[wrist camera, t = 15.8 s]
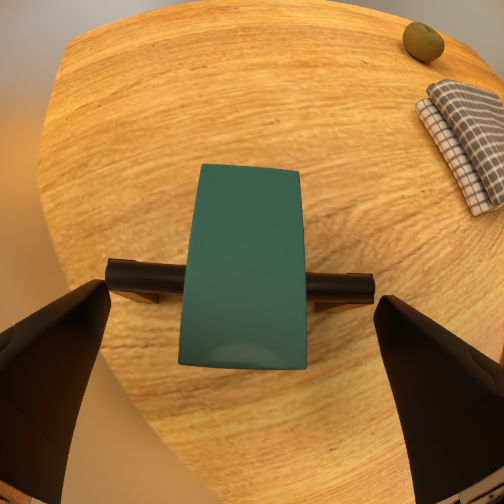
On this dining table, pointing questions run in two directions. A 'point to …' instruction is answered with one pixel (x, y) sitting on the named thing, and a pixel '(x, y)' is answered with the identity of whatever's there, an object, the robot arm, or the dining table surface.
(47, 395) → the robot arm
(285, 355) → the dark green block
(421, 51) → the apple
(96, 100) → the dining table surface
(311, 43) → the dining table surface
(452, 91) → the towel
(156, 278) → the dark pull handle
